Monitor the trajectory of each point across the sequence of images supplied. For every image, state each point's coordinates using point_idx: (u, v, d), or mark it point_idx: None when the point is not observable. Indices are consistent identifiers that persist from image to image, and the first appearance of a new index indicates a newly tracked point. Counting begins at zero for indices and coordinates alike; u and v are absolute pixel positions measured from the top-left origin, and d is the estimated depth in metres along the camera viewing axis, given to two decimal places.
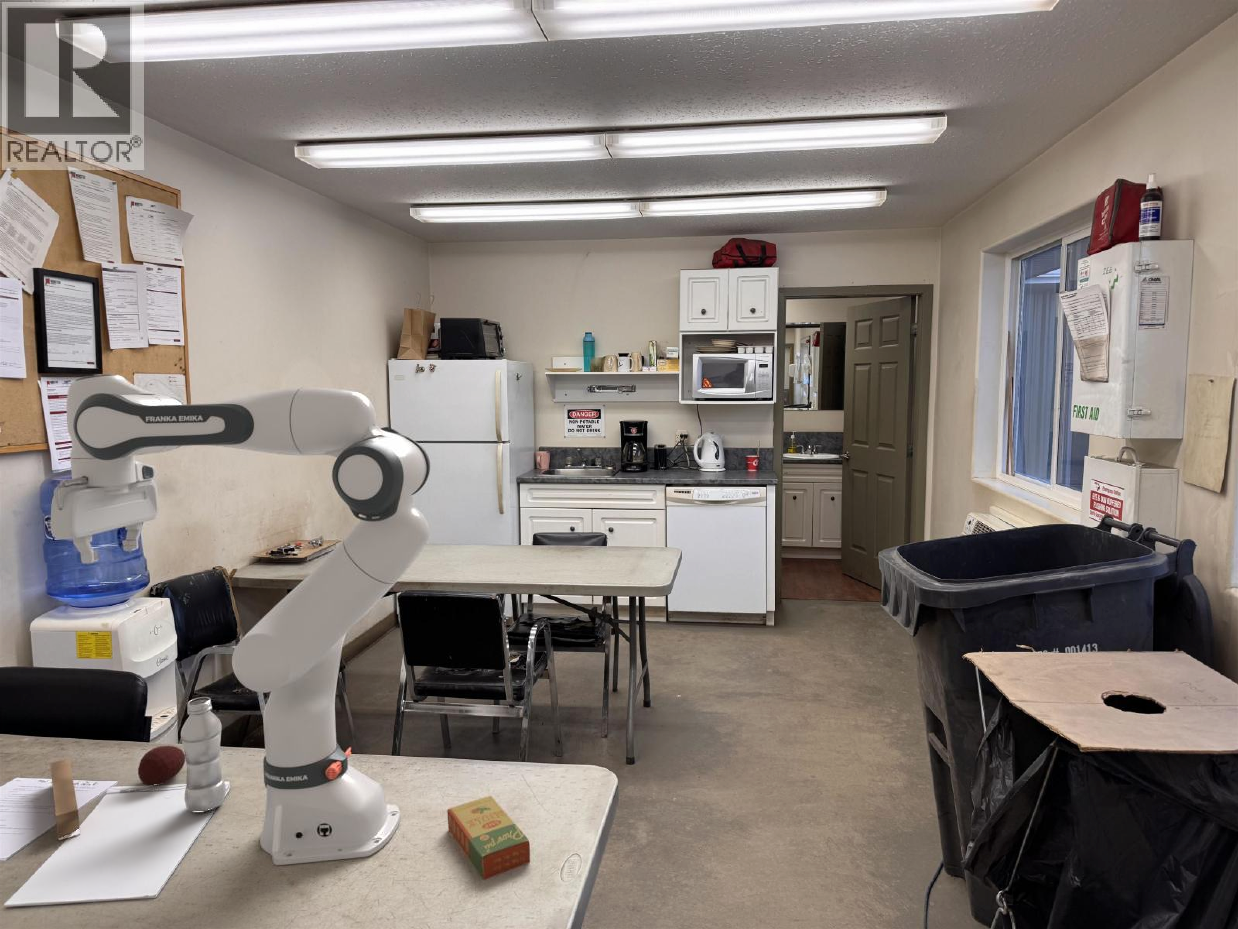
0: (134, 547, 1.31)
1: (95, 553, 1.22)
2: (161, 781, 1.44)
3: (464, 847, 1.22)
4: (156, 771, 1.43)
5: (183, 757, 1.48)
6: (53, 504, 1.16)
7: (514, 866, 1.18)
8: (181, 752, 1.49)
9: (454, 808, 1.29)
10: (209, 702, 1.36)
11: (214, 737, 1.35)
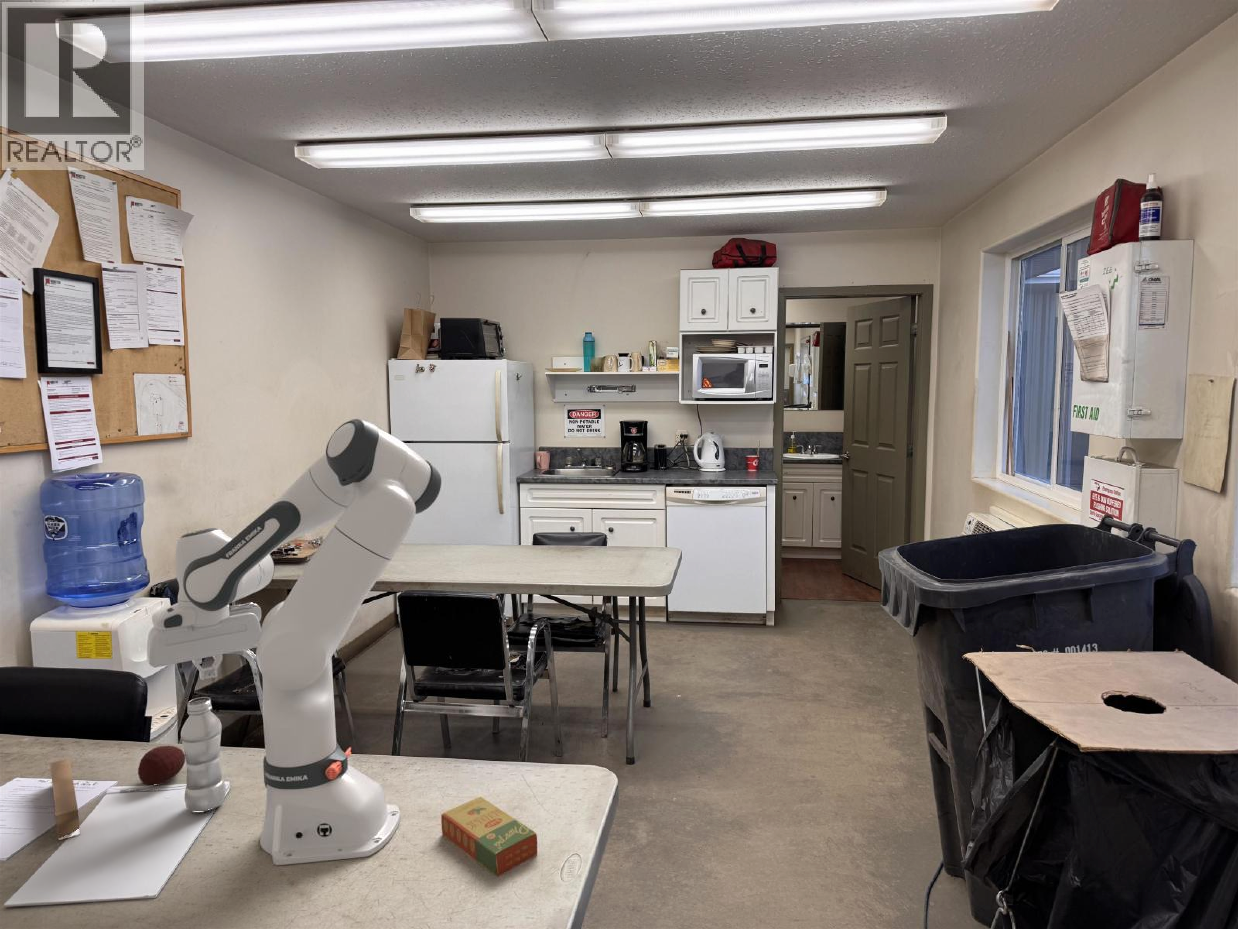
0: None
1: None
2: (161, 781, 1.44)
3: (468, 848, 1.21)
4: (156, 771, 1.43)
5: (183, 757, 1.48)
6: (258, 620, 1.55)
7: (524, 860, 1.20)
8: (181, 752, 1.49)
9: (448, 812, 1.27)
10: (209, 702, 1.36)
11: (215, 737, 1.35)
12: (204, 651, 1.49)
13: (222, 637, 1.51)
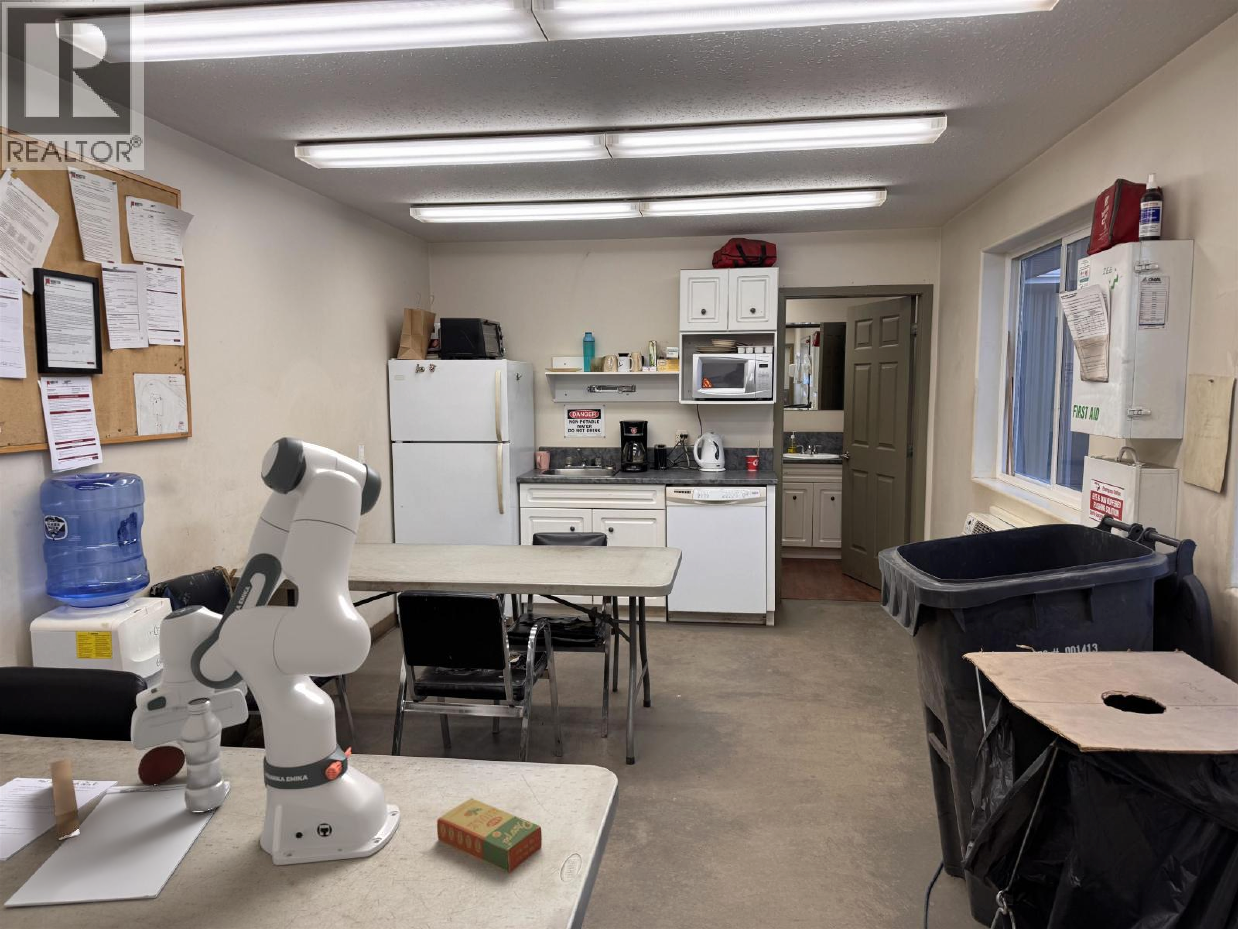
0: None
1: None
2: (161, 781, 1.44)
3: (472, 849, 1.21)
4: (156, 771, 1.43)
5: (183, 757, 1.48)
6: (244, 696, 1.55)
7: (531, 854, 1.21)
8: (181, 752, 1.48)
9: (444, 816, 1.26)
10: (209, 702, 1.36)
11: (214, 737, 1.35)
12: None
13: None
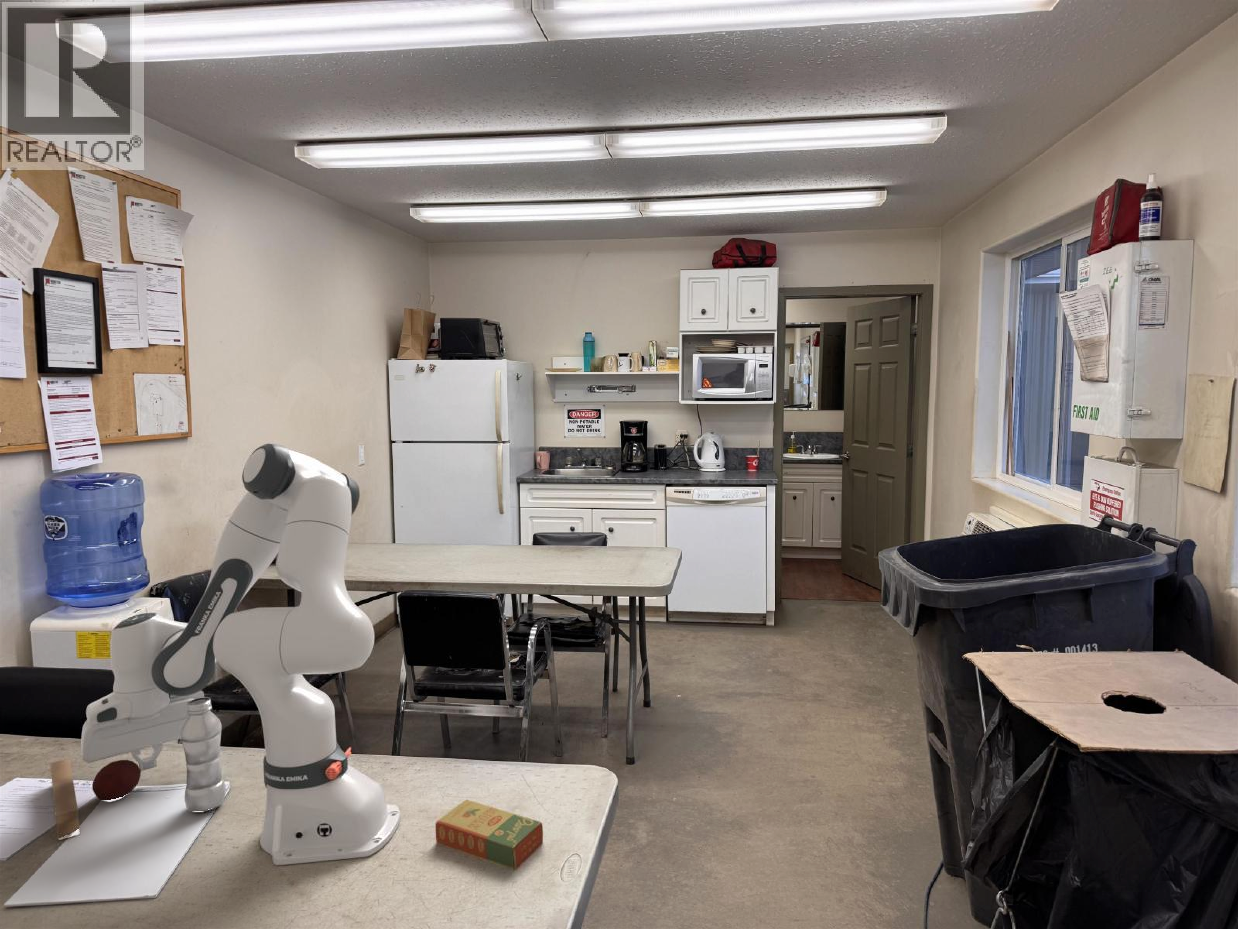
0: None
1: None
2: None
3: (474, 850, 1.21)
4: (121, 785, 1.38)
5: None
6: None
7: (533, 850, 1.22)
8: (136, 764, 1.44)
9: (442, 819, 1.25)
10: (209, 702, 1.36)
11: (214, 737, 1.35)
12: (142, 742, 1.43)
13: (162, 726, 1.45)
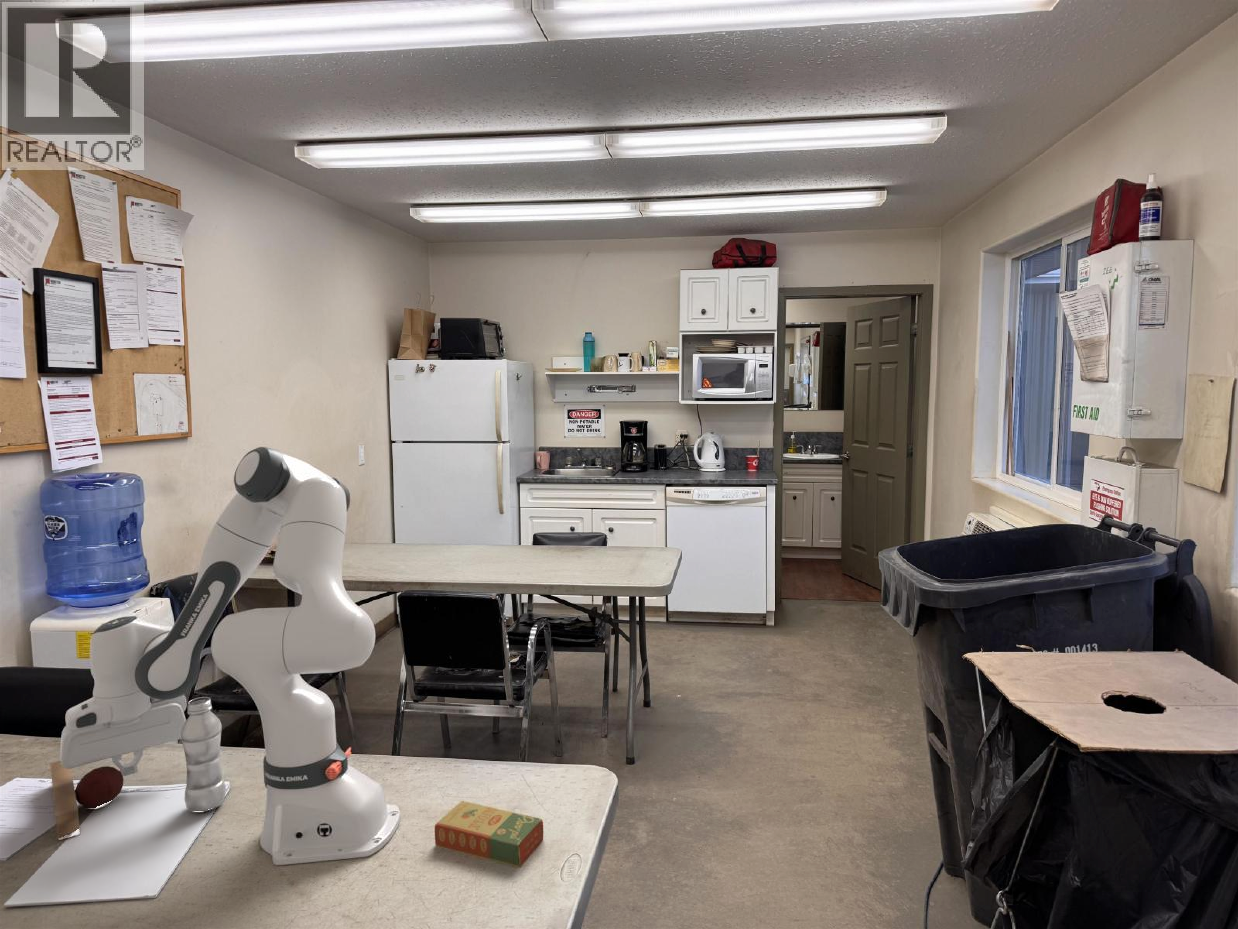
0: None
1: None
2: None
3: (476, 850, 1.21)
4: (109, 790, 1.37)
5: None
6: (182, 710, 1.48)
7: (535, 847, 1.23)
8: None
9: (441, 821, 1.25)
10: (209, 702, 1.36)
11: (215, 737, 1.35)
12: (122, 748, 1.41)
13: (143, 731, 1.43)
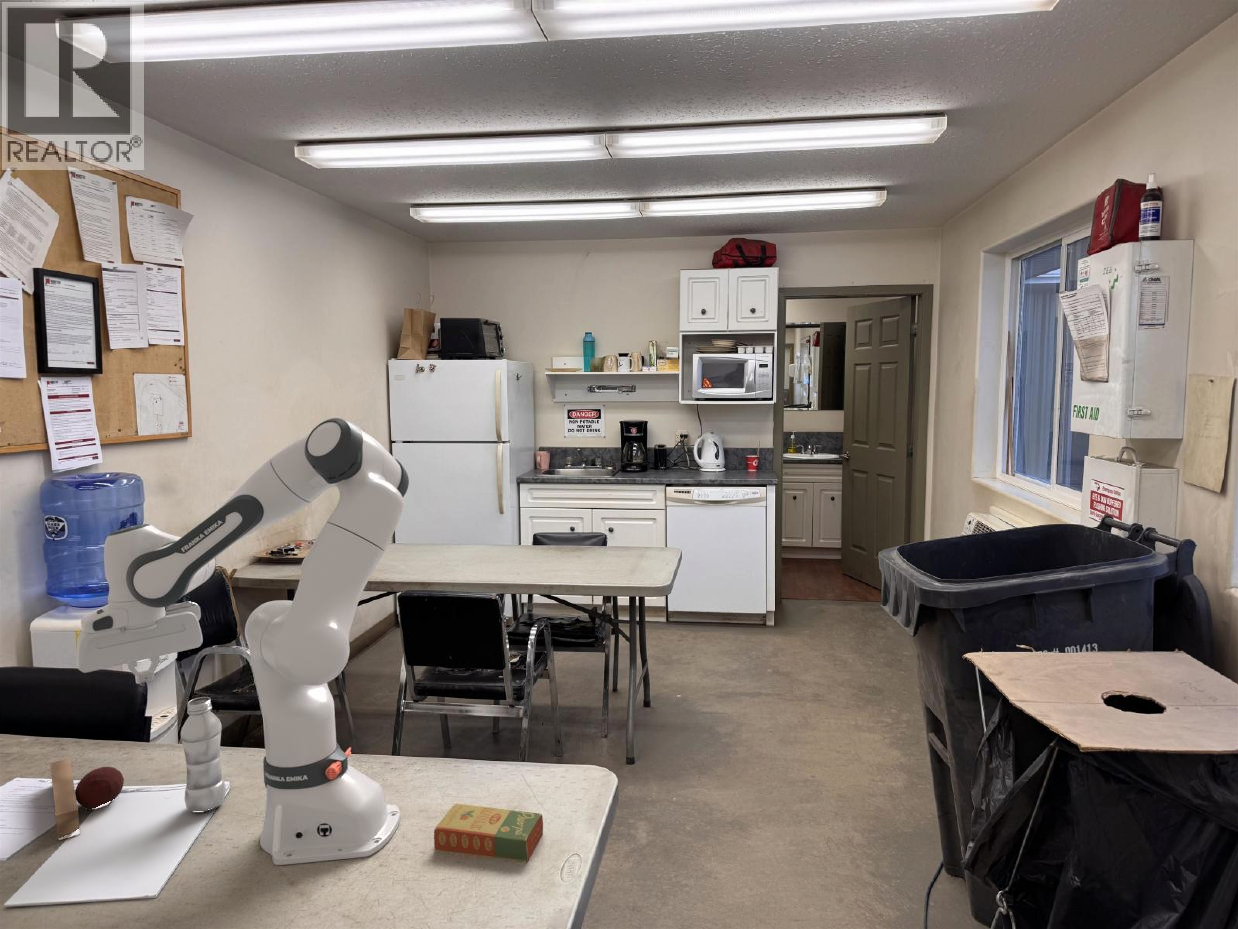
0: None
1: None
2: None
3: (480, 850, 1.21)
4: (109, 790, 1.36)
5: (121, 774, 1.42)
6: (197, 619, 1.48)
7: (538, 841, 1.25)
8: (118, 770, 1.42)
9: (440, 825, 1.24)
10: (209, 702, 1.36)
11: (214, 737, 1.35)
12: (139, 654, 1.42)
13: (158, 638, 1.44)
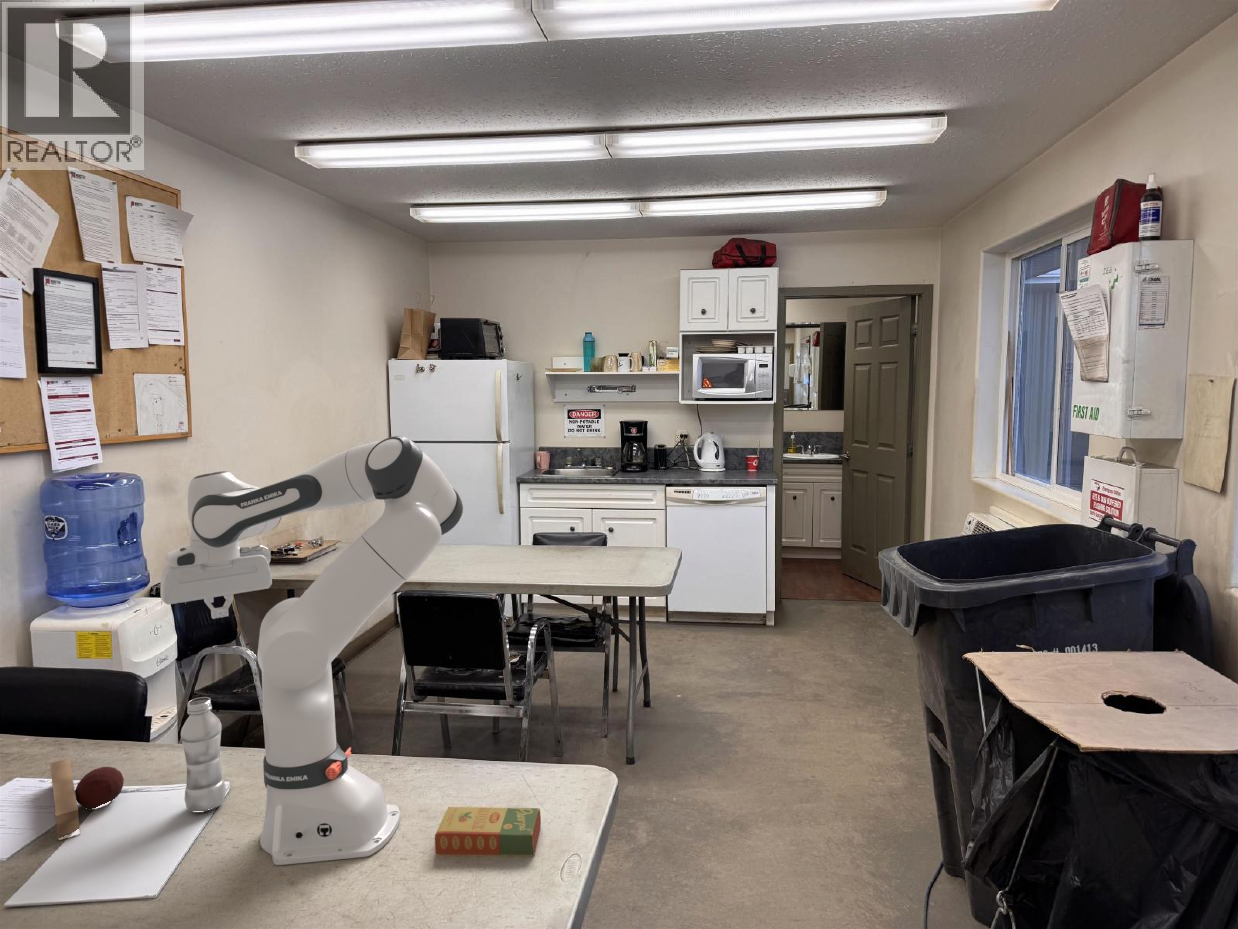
0: None
1: None
2: None
3: (485, 849, 1.21)
4: (109, 790, 1.36)
5: None
6: (268, 562, 1.60)
7: (538, 836, 1.26)
8: (118, 770, 1.42)
9: (440, 829, 1.22)
10: (209, 702, 1.36)
11: (214, 737, 1.35)
12: (216, 590, 1.53)
13: (233, 577, 1.55)
